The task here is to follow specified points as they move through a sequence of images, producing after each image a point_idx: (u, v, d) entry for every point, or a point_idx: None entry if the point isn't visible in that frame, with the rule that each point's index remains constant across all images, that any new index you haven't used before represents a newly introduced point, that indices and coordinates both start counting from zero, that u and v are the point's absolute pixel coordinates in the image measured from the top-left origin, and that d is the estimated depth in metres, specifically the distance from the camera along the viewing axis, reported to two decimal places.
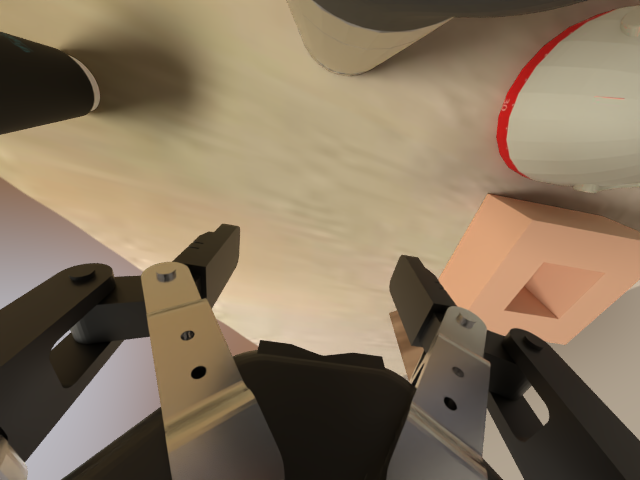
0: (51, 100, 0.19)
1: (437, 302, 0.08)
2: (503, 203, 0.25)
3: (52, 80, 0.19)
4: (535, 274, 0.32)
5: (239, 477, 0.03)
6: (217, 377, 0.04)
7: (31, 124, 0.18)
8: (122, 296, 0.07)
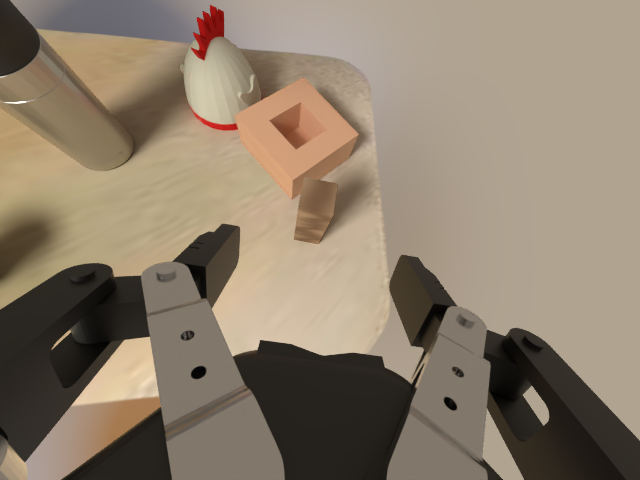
0: None
1: (437, 302, 0.08)
2: (239, 132, 0.43)
3: None
4: None
5: (239, 476, 0.03)
6: (217, 377, 0.04)
7: None
8: (122, 296, 0.07)
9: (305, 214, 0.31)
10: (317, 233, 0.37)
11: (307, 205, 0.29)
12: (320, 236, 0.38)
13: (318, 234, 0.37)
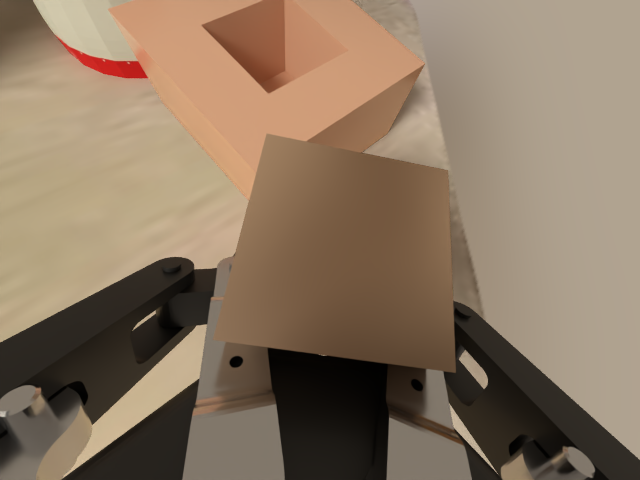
0: None
1: None
2: (145, 72, 0.19)
3: None
4: None
5: (240, 478, 0.03)
6: (217, 377, 0.04)
7: None
8: (202, 286, 0.08)
9: None
10: None
11: (280, 311, 0.04)
12: None
13: None
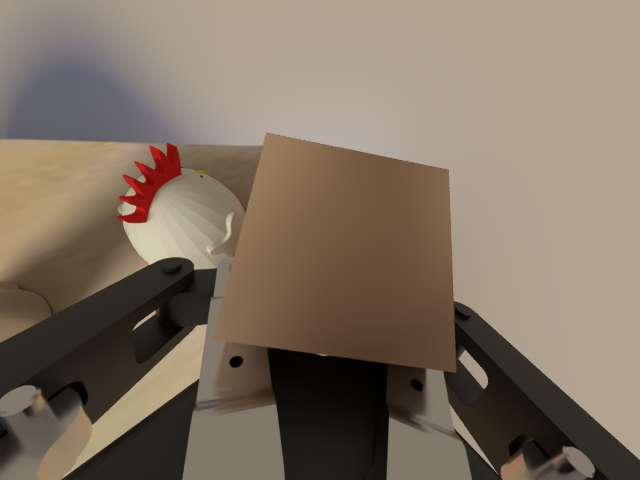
0: None
1: None
2: None
3: None
4: None
5: (240, 478, 0.03)
6: (217, 377, 0.04)
7: None
8: (202, 286, 0.08)
9: None
10: None
11: (280, 310, 0.04)
12: None
13: None
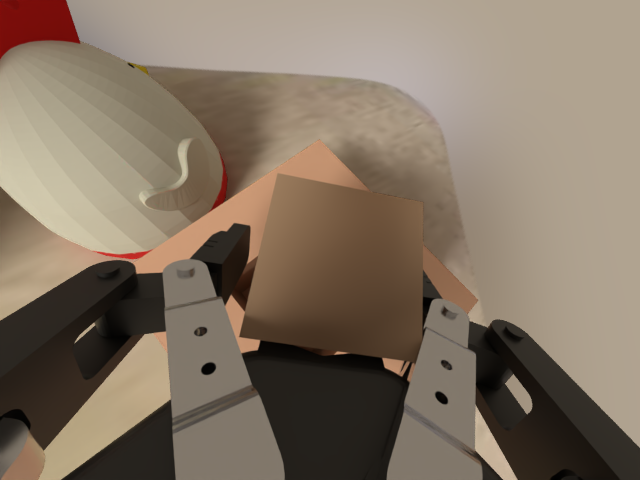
0: None
1: (423, 295, 0.09)
2: None
3: None
4: None
5: (240, 476, 0.03)
6: (217, 377, 0.04)
7: None
8: (145, 291, 0.07)
9: None
10: None
11: (289, 315, 0.06)
12: None
13: None
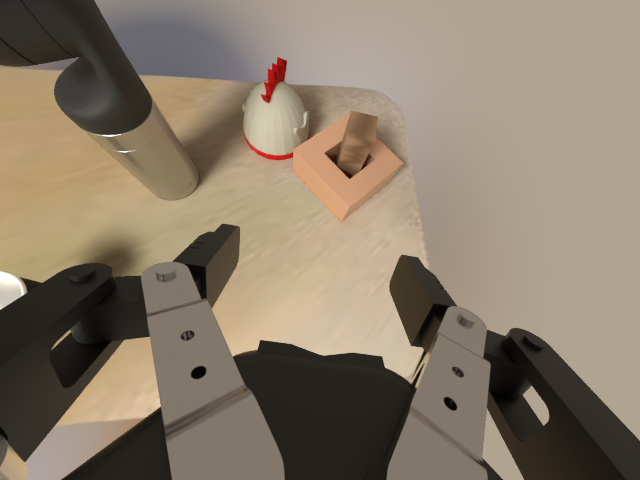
0: None
1: (437, 302, 0.08)
2: (293, 163, 0.48)
3: None
4: None
5: (240, 477, 0.03)
6: (217, 377, 0.04)
7: None
8: (122, 296, 0.07)
9: (352, 140, 0.38)
10: (356, 167, 0.44)
11: (355, 131, 0.37)
12: (357, 172, 0.46)
13: (356, 169, 0.45)
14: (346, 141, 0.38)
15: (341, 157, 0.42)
